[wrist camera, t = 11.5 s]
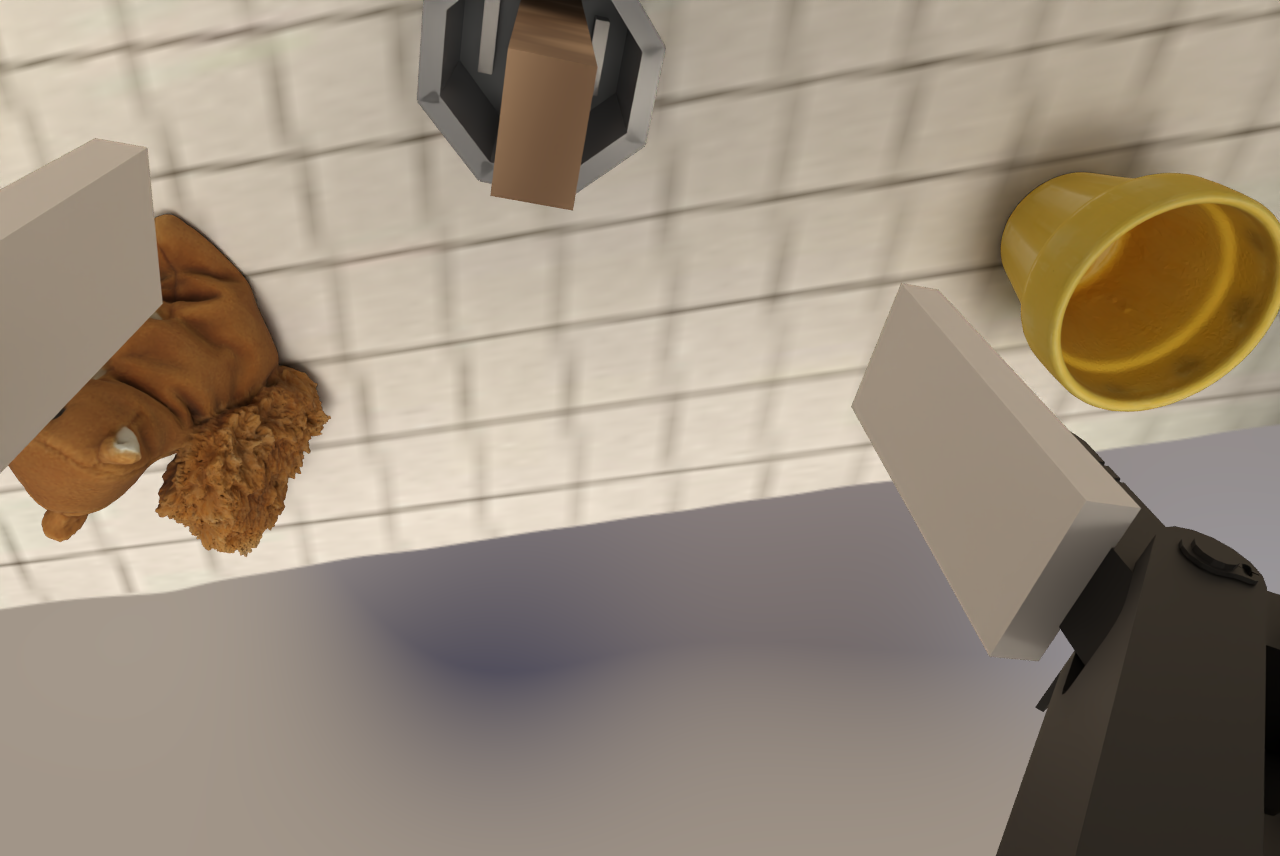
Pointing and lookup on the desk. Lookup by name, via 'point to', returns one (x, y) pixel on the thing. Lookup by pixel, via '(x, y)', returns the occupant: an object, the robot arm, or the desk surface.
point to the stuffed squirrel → (183, 411)
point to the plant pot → (1141, 283)
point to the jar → (475, 70)
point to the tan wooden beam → (545, 104)
